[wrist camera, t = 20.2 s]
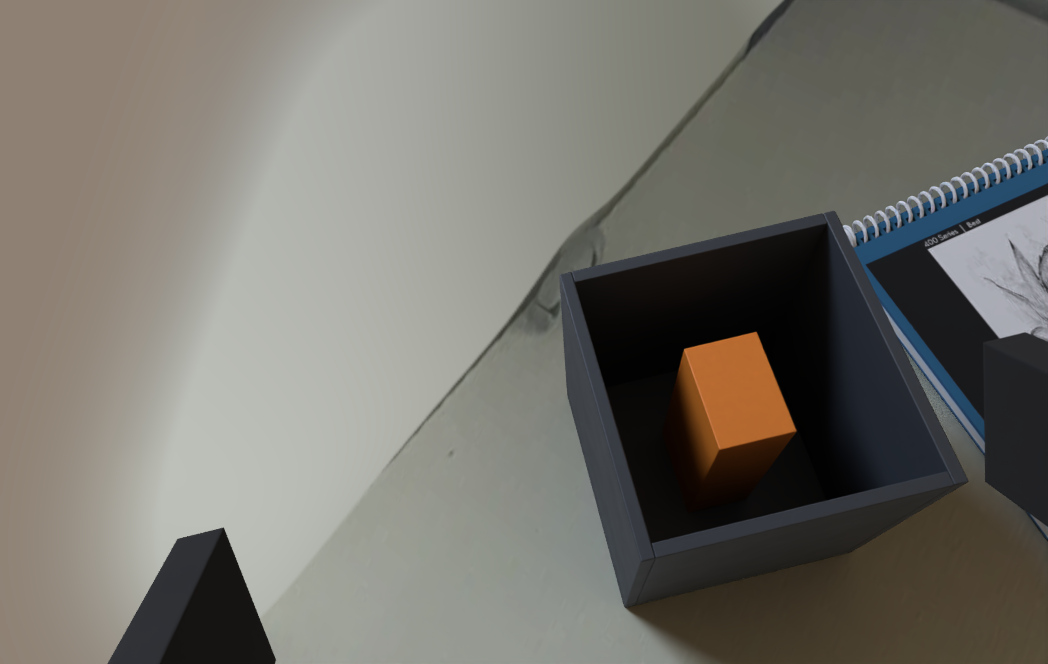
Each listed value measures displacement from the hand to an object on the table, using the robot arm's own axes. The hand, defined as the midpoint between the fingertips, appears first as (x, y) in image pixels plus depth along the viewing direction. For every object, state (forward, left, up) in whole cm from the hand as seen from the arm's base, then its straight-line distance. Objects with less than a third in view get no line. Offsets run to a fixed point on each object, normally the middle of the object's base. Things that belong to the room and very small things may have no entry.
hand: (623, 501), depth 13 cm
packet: (+7, +9, -32) cm, 34 cm away
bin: (+7, +9, -33) cm, 35 cm away
